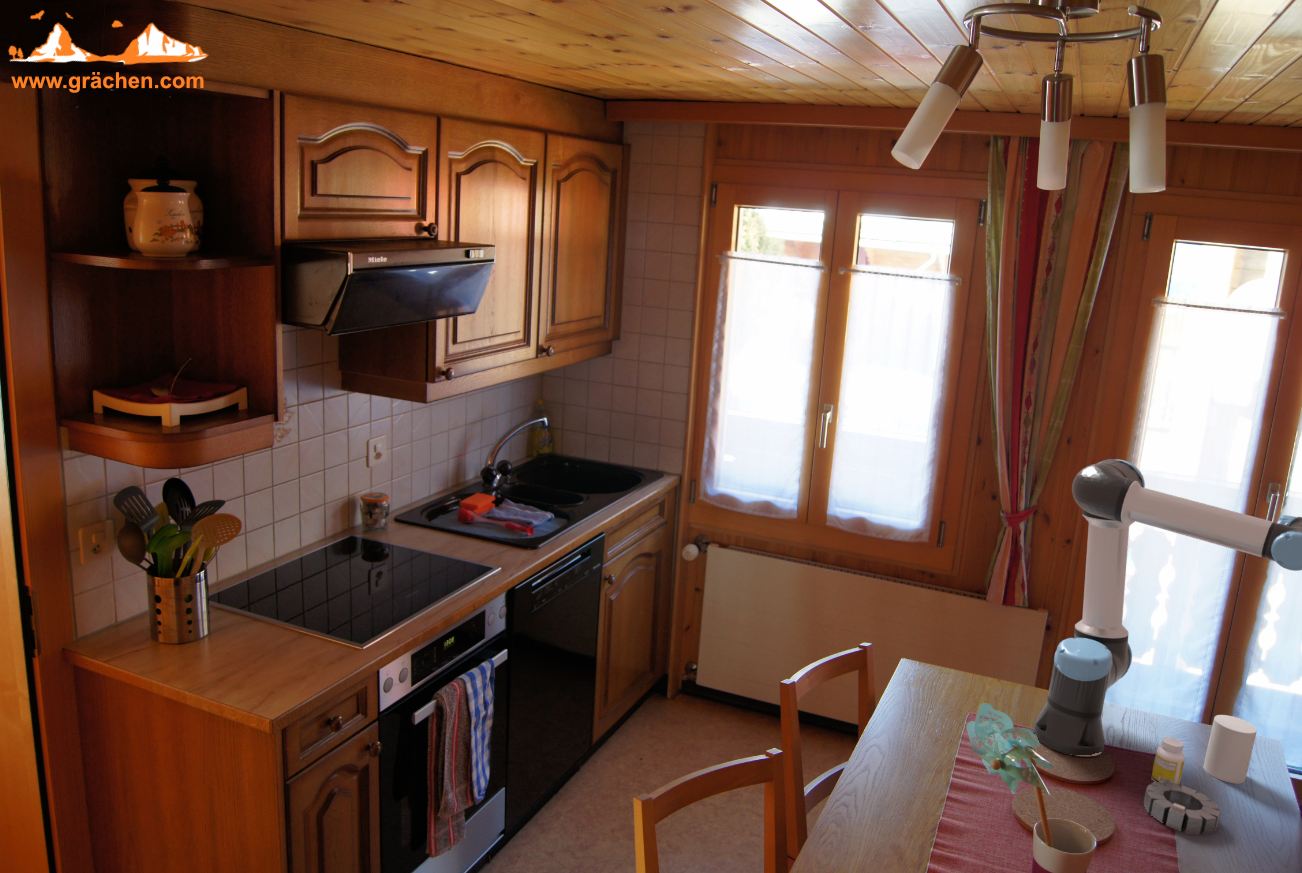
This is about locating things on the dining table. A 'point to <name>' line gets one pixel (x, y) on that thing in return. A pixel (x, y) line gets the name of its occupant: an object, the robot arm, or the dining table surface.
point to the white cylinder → (1229, 748)
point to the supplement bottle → (1168, 762)
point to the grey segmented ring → (1182, 808)
